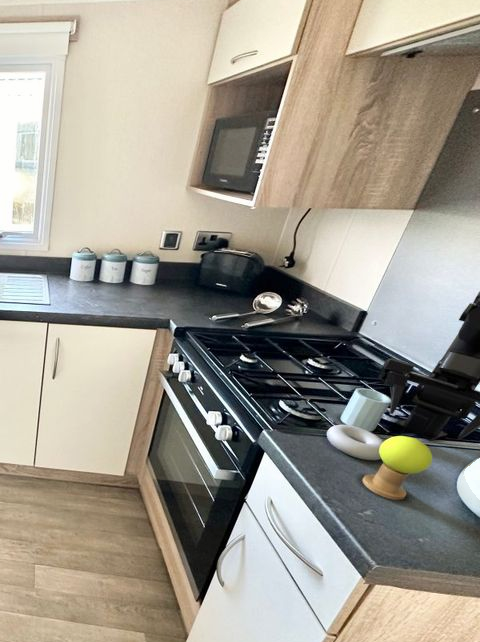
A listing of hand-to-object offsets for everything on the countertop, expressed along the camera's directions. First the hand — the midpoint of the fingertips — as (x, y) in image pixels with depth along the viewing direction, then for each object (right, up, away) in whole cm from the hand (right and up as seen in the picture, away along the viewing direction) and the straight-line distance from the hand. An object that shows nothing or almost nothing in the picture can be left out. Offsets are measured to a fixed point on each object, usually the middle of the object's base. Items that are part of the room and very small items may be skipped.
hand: (424, 424), depth 76 cm
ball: (-6, -5, -2) cm, 8 cm away
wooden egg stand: (-6, -13, +2) cm, 14 cm away
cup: (+7, -3, +21) cm, 22 cm away
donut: (-1, -7, +13) cm, 15 cm away
